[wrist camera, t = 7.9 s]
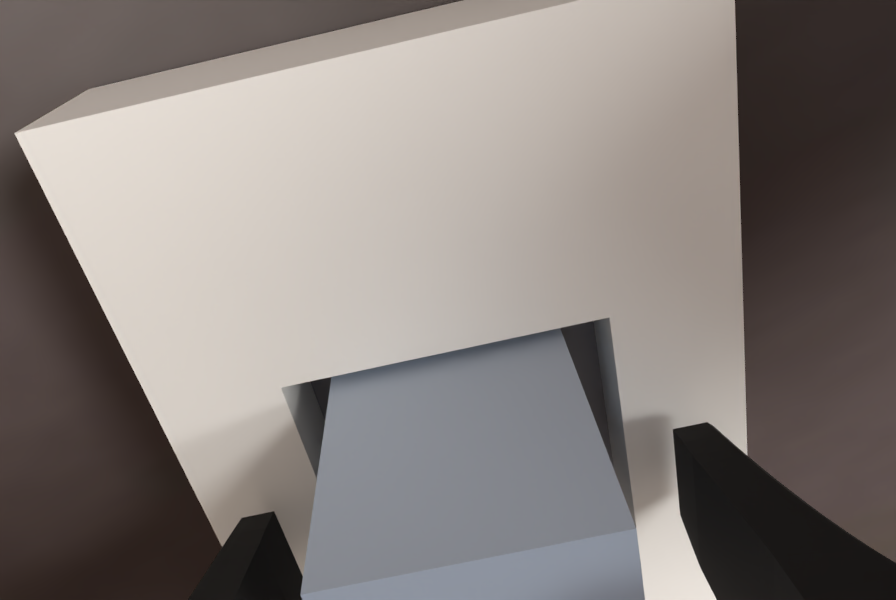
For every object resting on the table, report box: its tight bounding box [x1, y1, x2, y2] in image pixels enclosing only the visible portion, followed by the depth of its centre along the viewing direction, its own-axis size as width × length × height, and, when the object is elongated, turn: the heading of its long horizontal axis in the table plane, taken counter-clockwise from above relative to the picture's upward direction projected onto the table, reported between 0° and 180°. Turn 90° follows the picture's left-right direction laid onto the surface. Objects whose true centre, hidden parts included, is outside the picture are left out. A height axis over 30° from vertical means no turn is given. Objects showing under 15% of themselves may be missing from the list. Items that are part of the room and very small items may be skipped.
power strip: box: [14, 0, 747, 600], centre depth 16 cm, size 10×20×3 cm, turn 12°
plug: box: [300, 328, 645, 600], centre depth 12 cm, size 4×4×6 cm
